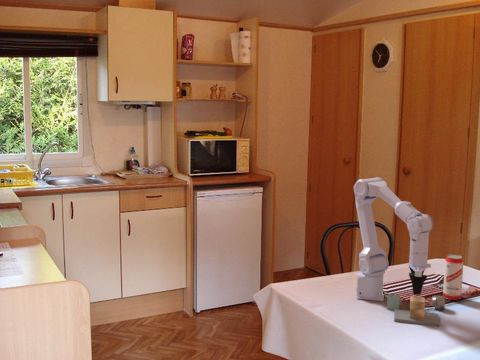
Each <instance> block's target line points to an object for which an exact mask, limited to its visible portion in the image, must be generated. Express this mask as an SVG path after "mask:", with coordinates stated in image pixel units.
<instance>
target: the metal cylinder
mask: <svg viewBox="0 0 480 360" xmlns="http://www.w3.org/2000/svg"><path fill="white" fill-rule="evenodd" d="M430 304H431V305H432V306H434V307H435V309H434V310H433V311H436V312H443V311H445V309H446V307H445V306H446V299H445V297H444V296H443V295H437V294H436V295H432V296H431V303H430Z"/></svg>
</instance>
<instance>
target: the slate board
mask: <svg viewBox="0 0 480 360" xmlns="http://www.w3.org/2000/svg"><path fill="white" fill-rule="evenodd" d="M393 322H396V323H405V324H412V325H425V326H433V327H439V326H440V319H439V314H438V313H434V312H426V311H424V320H422V319H413V318H410V310H406V309H405V310H404V309H399V310H398V309H395V310H394V318H393Z"/></svg>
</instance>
